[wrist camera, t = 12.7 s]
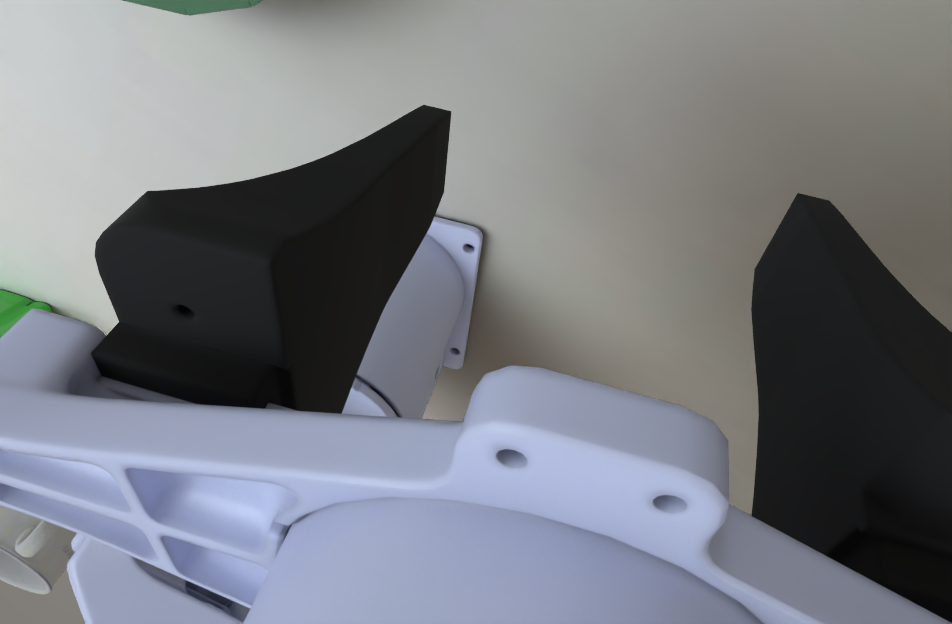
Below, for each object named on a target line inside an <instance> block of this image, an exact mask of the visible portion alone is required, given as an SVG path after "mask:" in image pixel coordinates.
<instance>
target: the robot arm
mask: <svg viewBox="0 0 952 624" xmlns="http://www.w3.org/2000/svg"><path fill="white" fill-rule="evenodd" d="M450 120H451V111H447V110H443V109H439V108H435V107H430V106H426V105H423V106H421V107H419V108H417V109H415V110H413V111H411V112H410V113H408V114H406V115H404V116H403V117H401V118H399V119H398V120H396V121H394V122H393V123H391V124H389V125H387V126H385V127H384V128H382V129H380V130H378V131H376V132H375V133H373V134H371V135H369V136H368V137H366V138H364V139H362V140H360V141H357V142H355V143H353V144H351V145H349V146H347V147H345V148H343V149H341V150H339V151H337V152H335V153H332V154H330V155H328V156H325V157H323V158H320V159H318V160H315V161H313V162H310V163H307V164H304V165H301V166H298V167H295V168H292V169H289V170H285V171H281V172H278V173H274V174H270V175H266V176H262V177H258V178H254V179H250V180H245V181H240V182H234V183H229V184H222V185H215V186H208V187H200V188H189V189H176V190H162V191H147V192H146V193H145V194H144V195H143V196H141V197H140V198H139V199H138V200H137V201H136V202H135V203H134V204H133V205H132V206H131V207H130V208H129V209H127V210H126V211H125V212H124V213H123V214H122V215H121V216H120V217H119V218H118V219H117V220H116V221H115V222H113V223H112V224H111V225H110V226H109V227H108V228H107V229H106V230H105V231H104V232H103V233H102V234H101V236H100V237H99V239H98V240H97V242H96V248H95V258H96V262H97V266H98V270H99V273H100V276H101V278H102V281H103V283H104V286H105V288H106V290H107V293H108V295H109V298H110V300H111V303H112V305H113V307H114V310H115V312H116V315H117V317H118V320H119V323H118V324H117V325H116V326H115V327H114V328H113V329H112V330H111V332H110V333H109V334H108V335H107V336H106V335H105V334H104V333H103V332H102V331H101V330H99V329H98V328H97V327H95V326H93V325H91V324H89V323H86V322H83V321H79V320H76V319H72V318H69V317H65V316H62V315H58V314H55V313H51V312H48V311H44V310H41V309H31V310H30V311H29V312H28V313H27V314H26V315H24V316H23V317H22V318H21V319H20V320H19V321H18V322H17V323H16V324H15V325H14V326H13V327H12V328H11V329H10V330H9V331H8V332H6V333H5V334H4V335H3V336H2V337H1V338H0V505H1V506H4V507H7V508H10V509H13V510H16V511H19V512H22V513H25V514H28V515H31V516H34V517H36V518H39V519H42V520H45V521H47V522H50V523H52V524H55V525H58V526H60V527H63V528H65V529H68V530H71V531H73V532H76V533H77V534H76V536H75V537H74V538H73V540H72V542H71V546H72V550H73V551H75V553H74V554H73V556H72V557H71V559H70V560H69V561H68V563H67V571H68V575H69V579H70V583H71V586H72V588H73V591H74V593H75V596H76V599H77V602H78V604H79V607H80V610H81V613H82V615H83V618H84V621H85V623H86V624H952V332H950V331H949V330H948V329H947V328H946V327H945V326H944V325H943V324H941V323H940V322H939V321H938V320H937V319H936V318H935V317H933V316H932V315H931V314H930V313H929V312H928V311H927V310H926V309H925V308H924V307H923V306H922V305H921V304H920V303H919V302H918V301H917V300H916V299H915V298H914V297H913V296H912V295H911V294H910V293H909V292H908V291H907V290H906V289H905V288H904V287H903V286H902V285H901V284H900V283H899V282H898V280H897V279H896V278H895V277H894V276H893V275H892V274H891V273H890V272H889V270H888V269H887V268H886V267H885V266H884V265H883V264H882V262H881V261H880V260H879V259H878V258H877V256H876V255H875V254H874V253H873V252H872V251H871V249H870V248H869V247H868V246H867V244H866V243H865V242H864V241H863V240H862V238H861V237H860V236H859V235H858V233H857V232H856V231H855V230H854V228H853V227H852V226H851V225H850V224H849V222H848V221H847V220H846V219H845V218H844V216H843V215H842V214H841V213H840V212H839V211H838V209H837V208H836V207H835V206H834V205H833V204H832V203H831V202H830V201H829V200H824V199H820V198H816V197H812V196H807V195H803V194H799V193H798V194H797V195H796V197H795V199H794V201H793V202H792V204H791V206H790V208H789V209H788V211H787V213H786V215H785V217H784V218H783V220H782V222H781V224H780V225H779V227H778V229H777V231H776V233H775V234H774V236H773V238H772V240H771V241H770V243H769V245H768V247H767V248H766V250H765V252H764V254H763V256H762V257H761V259H760V261H759V263H758V264H757V266H756V268H755V273H754V283H753V294H752V309H751V310H752V325H753V338H754V351H755V362H756V374H757V386H758V402H759V422H758V443H757V460H756V473H755V486H754V497H753V507H752V516H750V515H749V514H747V513H745V512H743V511H741V510H739V509H737V508H735V507H734V506H732V505H730V504H729V459H728V440H727V439H726V437H725V436H724V435H723V433H722V432H721V431H720V429H719V428H718V427H717V425H716V424H715V423H714V421H712V420H710V419H709V418H707V417H704V416H702V415H700V414H698V413H696V412H694V411H692V410H690V409H687V408H685V407H683V406H681V405H677V404H673V403H670V402H666V401H662V400H659V399H655V398H651V397H648V396H644V395H640V394H637V393H633V392H629V391H626V390H622V389H618V388H615V387H611V386H607V385H603V384H600V383H596V382H592V381H589V380H585V379H581V378H578V377H574V376H570V375H567V374H563V373H559V372H556V371H552V370H548V369H545V368H537V367H527V366H516V365H512V366H508V367H505V368H502V369H498V370H495V371H492V372H489V373H486V374H485V375H484V376H483V377H482V379H481V380H480V382H479V383H478V385H477V386H476V388H475V389H474V391H473V394H472V397H471V400H470V403H469V406H468V409H467V412H466V415H465V418H464V421H463V422H460V421H445V420H430V419H422V417H423V415H424V412H425V409H426V407H427V404H428V402H429V399H430V397H431V394H432V391H433V389H434V386H435V384H436V381H437V378H438V376H439V373H440V371H441V368H442V366H443V367H447V368H451V369H460V368H461V367H462V365H463V363H464V358H465V352H466V345H467V338H468V332H469V325H470V319H471V312H472V306H473V299H474V293H475V286H476V280H477V273H478V267H479V260H480V254H481V247H482V240H483V234H482V232H481V231H480V230H479V229H478V228H476V227H474V226H470V225H466V224H462V223H458V222H454V221H450V220H446V219H442V218H439V217H435V214H436V211H437V208H438V206H439V203H440V201H441V198H442V195H443V193H444V185H445V174H446V163H447V152H448V142H449V131H450ZM466 244H470V245H472V246H473V247H474V248H470V247H468V246H467V245H466ZM455 348H456V349H455Z"/></svg>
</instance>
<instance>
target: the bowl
mask: <svg viewBox="0 0 952 624" xmlns="http://www.w3.org/2000/svg"><path fill="white" fill-rule="evenodd" d="M123 1H127V2H132V3H136V4H140V5H145V6H149V7H153V8H158V9H162V10H166V11H171V12H175V13H179V14H184V15H197V14H204V13H211V12H219V11H226V10H233V9H241V8H248V7H252V6H255V5H257V4H258V3H260V2H261V1H263V0H123Z"/></svg>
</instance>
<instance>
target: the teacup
mask: <svg viewBox="0 0 952 624" xmlns="http://www.w3.org/2000/svg"><path fill="white" fill-rule="evenodd" d="M76 534H77V533H76V532H73V531H71V530H68V529H65V528H63V527H60V526H58V525H55V524H52V523H50V522H47V521H45V520H42V519H39V518H36V517H34V516H31V515H28V514H25V513H22V512H19V511H16V510H13V509H10V508H7V507H4V506H1V505H0V580H2V581H4V582H7V583H9V584H11V585H13V586H16V587H19V588H21V589H24V590H26V591H30V592H33V593H39V594H48V593H49V592H50V591H51V590H52V588H53V586H54V584H55V583H56V582H57V580H58V579H59V578H60V577H61V575H62V574H63V573H64V571H65V570H66V569H67V563H68V561H69V560H70V559H71V557H72V556H73V554H74V553H75V551H73V550H72V546H71V542H72V540H73V538H74V537H75V536H76Z"/></svg>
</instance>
